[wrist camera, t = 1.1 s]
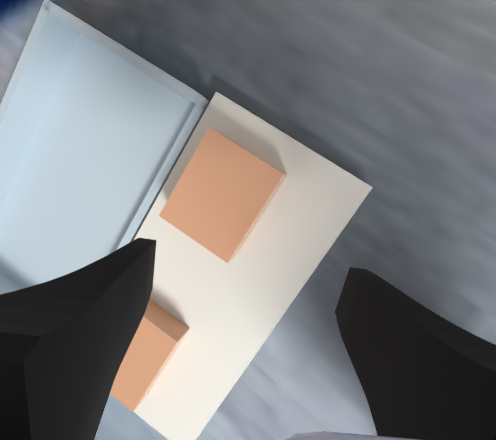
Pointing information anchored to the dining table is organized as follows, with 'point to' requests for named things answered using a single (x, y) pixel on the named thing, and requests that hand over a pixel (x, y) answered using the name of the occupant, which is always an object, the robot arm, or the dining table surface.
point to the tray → (82, 148)
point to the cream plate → (239, 269)
